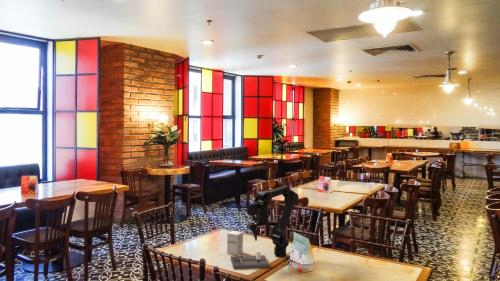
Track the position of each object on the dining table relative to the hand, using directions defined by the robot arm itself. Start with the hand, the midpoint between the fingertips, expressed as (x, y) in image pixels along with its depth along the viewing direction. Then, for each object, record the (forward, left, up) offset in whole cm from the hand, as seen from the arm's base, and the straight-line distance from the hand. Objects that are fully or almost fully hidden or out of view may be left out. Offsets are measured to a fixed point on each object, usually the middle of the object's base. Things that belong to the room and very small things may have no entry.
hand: (263, 239), depth 224 cm
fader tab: (+3, +3, -10) cm, 11 cm away
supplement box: (+14, -16, -13) cm, 25 cm away
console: (+8, +3, -12) cm, 15 cm away
